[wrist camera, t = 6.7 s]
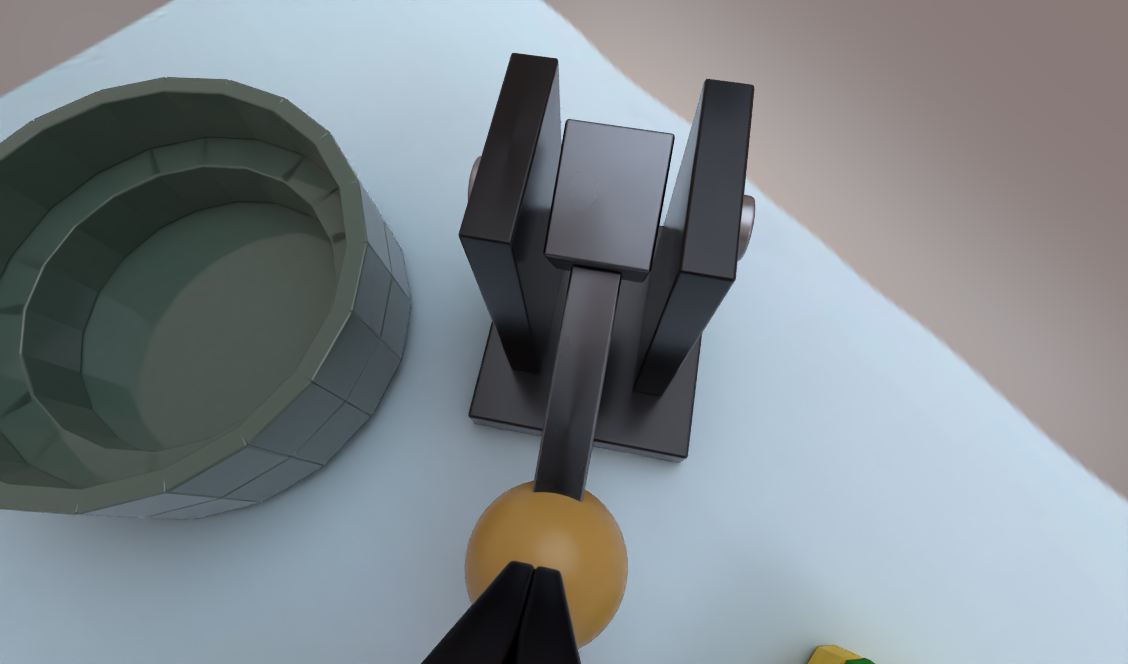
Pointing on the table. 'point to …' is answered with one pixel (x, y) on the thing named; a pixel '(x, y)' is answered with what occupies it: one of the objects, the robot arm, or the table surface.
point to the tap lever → (581, 371)
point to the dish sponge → (836, 656)
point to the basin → (185, 302)
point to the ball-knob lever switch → (644, 310)
